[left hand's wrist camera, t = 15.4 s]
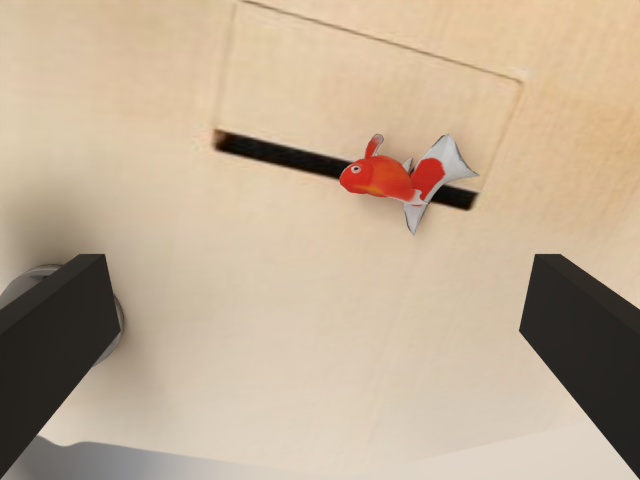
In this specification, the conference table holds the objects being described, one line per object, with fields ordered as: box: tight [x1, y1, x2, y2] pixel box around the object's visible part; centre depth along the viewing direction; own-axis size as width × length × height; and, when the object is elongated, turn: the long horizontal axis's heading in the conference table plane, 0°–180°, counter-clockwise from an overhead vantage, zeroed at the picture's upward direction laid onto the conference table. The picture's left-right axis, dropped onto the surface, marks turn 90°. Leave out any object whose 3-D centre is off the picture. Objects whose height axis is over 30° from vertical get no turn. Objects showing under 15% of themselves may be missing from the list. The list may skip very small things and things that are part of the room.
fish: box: [340, 134, 479, 236], centre depth 44 cm, size 11×16×10 cm
